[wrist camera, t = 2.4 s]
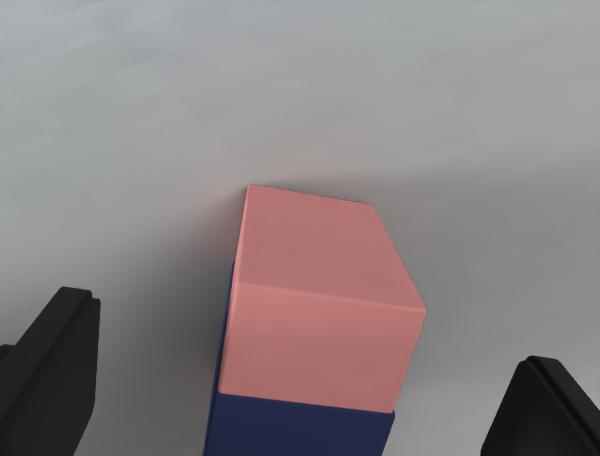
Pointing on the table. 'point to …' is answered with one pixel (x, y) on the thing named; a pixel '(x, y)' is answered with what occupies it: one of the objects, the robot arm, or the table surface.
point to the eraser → (311, 331)
